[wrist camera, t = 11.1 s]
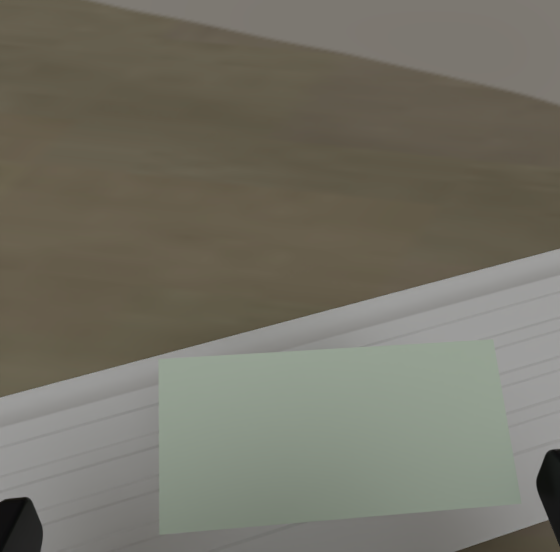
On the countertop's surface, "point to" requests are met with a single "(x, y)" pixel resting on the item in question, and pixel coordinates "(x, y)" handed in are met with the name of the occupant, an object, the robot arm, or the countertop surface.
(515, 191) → the countertop surface
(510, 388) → the baseboard
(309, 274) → the countertop surface
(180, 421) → the pale green block
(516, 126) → the countertop surface
